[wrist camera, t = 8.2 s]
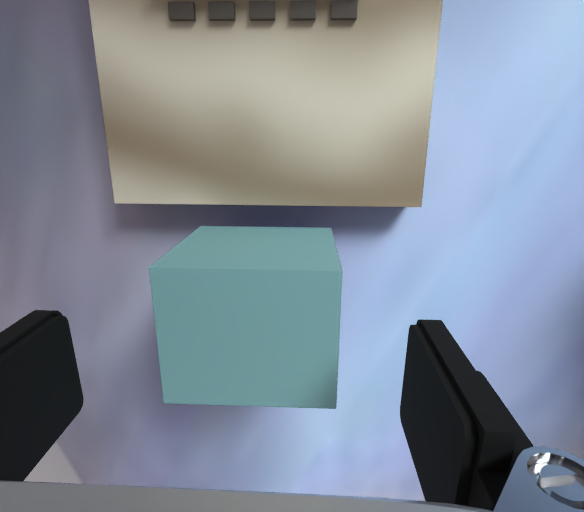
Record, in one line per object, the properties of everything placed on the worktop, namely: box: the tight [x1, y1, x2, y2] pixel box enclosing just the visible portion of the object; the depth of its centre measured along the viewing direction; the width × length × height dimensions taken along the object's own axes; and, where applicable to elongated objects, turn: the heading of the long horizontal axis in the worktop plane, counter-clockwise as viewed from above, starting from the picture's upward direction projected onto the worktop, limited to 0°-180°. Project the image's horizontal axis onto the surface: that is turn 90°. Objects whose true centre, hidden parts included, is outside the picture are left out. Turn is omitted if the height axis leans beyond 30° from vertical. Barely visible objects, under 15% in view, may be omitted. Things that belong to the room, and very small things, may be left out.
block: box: [149, 226, 342, 409], centre depth 15 cm, size 5×6×6 cm
